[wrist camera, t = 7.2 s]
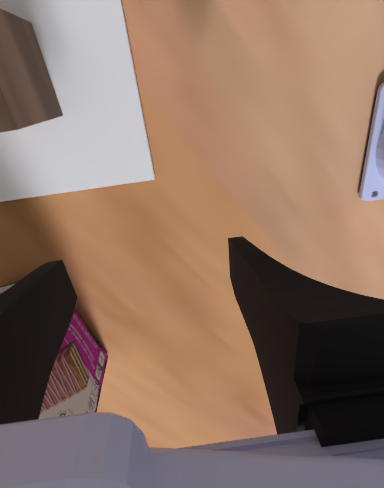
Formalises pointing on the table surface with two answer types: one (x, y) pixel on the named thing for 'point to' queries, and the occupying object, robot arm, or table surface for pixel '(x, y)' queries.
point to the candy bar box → (74, 372)
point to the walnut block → (23, 77)
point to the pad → (79, 104)
